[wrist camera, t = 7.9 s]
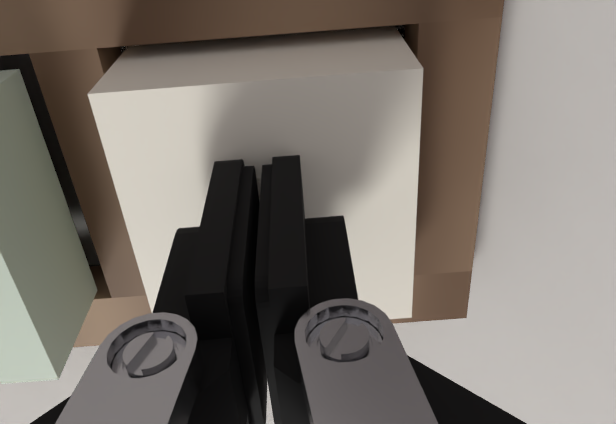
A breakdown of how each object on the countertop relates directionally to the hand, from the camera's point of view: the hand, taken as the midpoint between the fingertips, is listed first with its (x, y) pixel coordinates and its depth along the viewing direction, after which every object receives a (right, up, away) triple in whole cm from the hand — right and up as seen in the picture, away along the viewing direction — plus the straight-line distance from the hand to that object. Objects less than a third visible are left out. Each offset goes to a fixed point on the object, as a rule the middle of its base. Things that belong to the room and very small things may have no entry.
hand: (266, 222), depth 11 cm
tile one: (0, +2, +3) cm, 3 cm away
